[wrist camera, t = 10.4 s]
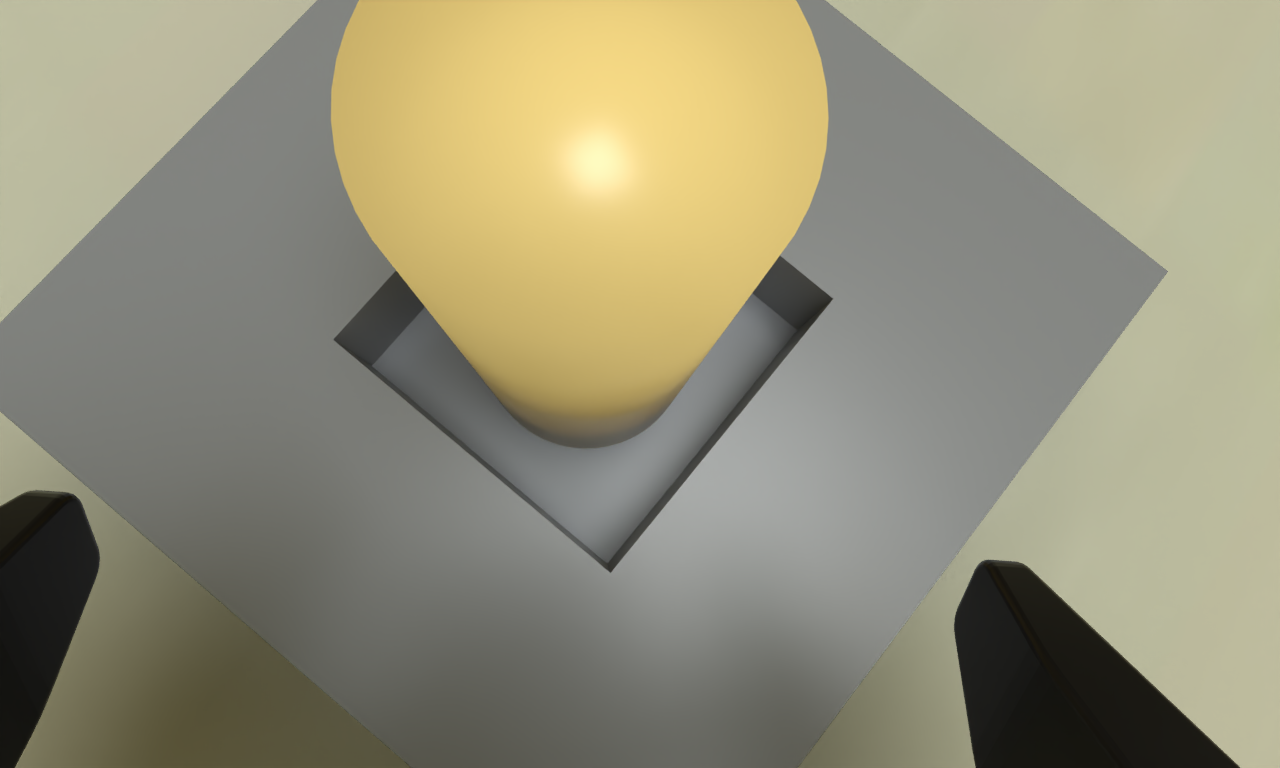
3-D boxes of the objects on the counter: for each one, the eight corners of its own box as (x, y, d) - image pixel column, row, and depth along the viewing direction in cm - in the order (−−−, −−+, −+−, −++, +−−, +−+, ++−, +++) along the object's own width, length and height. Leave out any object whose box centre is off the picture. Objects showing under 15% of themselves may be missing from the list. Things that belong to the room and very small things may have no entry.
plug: (727, 336, 20) (925, 81, 8) (599, 490, 20) (614, 454, 8) (575, 211, 20) (555, -212, 8) (443, 359, 20) (223, 127, 8)
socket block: (1062, 315, 22) (1168, 271, 18) (634, 877, 19) (645, 970, 15) (548, -96, 22) (539, -226, 19) (77, 398, 20) (-47, 371, 16)
